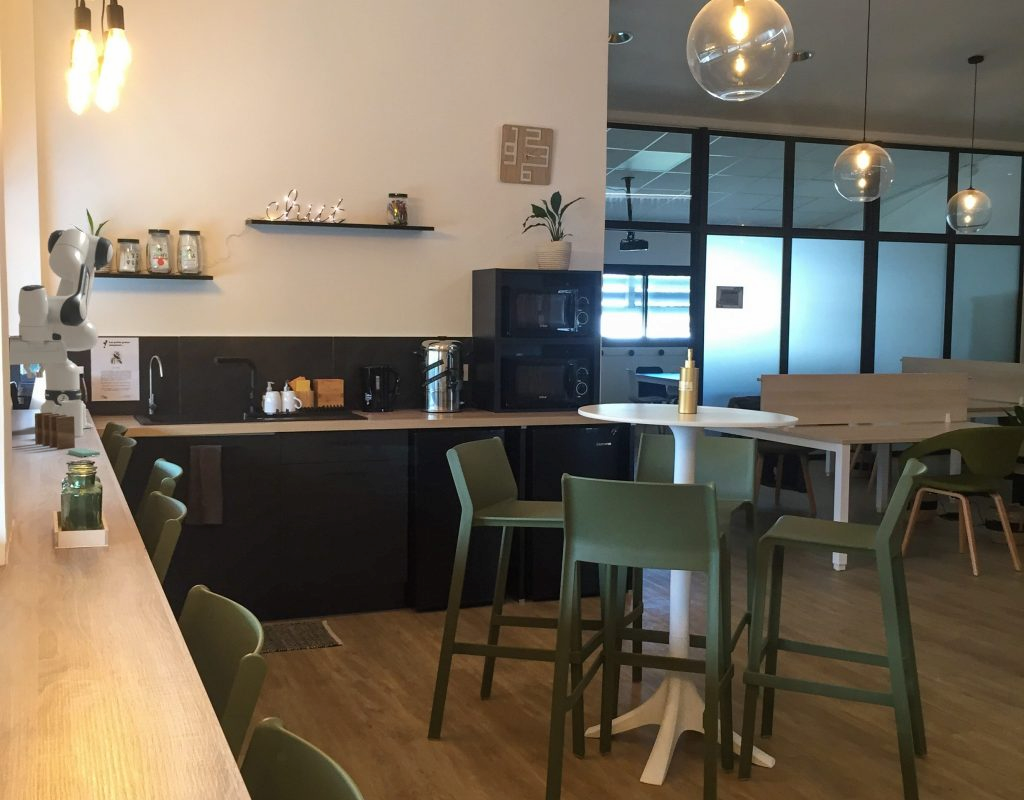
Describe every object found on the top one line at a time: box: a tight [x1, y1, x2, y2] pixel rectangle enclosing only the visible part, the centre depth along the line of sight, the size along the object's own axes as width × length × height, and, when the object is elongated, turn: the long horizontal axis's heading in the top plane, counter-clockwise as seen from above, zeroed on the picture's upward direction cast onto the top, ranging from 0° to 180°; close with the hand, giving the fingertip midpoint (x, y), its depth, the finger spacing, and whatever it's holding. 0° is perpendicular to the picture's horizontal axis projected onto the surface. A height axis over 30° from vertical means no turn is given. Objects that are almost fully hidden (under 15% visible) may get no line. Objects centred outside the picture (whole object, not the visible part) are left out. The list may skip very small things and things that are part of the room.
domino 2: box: [41, 413, 59, 447], centre depth 327 cm, size 2×5×10 cm, turn 142°
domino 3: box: [49, 415, 67, 449], centre depth 324 cm, size 2×5×10 cm, turn 142°
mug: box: [52, 400, 84, 438], centre depth 347 cm, size 10×7×12 cm, turn 112°
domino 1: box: [34, 412, 52, 445], centre depth 330 cm, size 2×5×10 cm, turn 141°
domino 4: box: [56, 416, 76, 450], centre depth 321 cm, size 2×5×10 cm, turn 142°
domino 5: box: [67, 447, 101, 458], centre depth 310 cm, size 2×5×10 cm
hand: (35, 377), depth 331 cm, fingers closed
